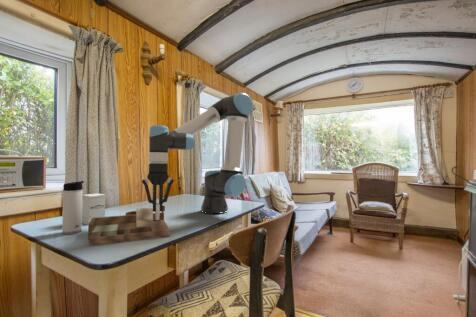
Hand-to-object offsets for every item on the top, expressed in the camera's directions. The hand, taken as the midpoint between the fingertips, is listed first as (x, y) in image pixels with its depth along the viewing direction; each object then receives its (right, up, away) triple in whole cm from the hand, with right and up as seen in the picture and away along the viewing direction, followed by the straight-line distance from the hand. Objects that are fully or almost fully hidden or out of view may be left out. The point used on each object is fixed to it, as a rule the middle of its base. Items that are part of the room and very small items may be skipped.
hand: (157, 219), depth 98 cm
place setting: (-11, -5, +12) cm, 17 cm away
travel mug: (-31, -4, -6) cm, 32 cm away
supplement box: (-33, -4, +9) cm, 34 cm away
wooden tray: (-8, -4, -7) cm, 11 cm away
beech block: (-5, -2, -2) cm, 5 cm away
